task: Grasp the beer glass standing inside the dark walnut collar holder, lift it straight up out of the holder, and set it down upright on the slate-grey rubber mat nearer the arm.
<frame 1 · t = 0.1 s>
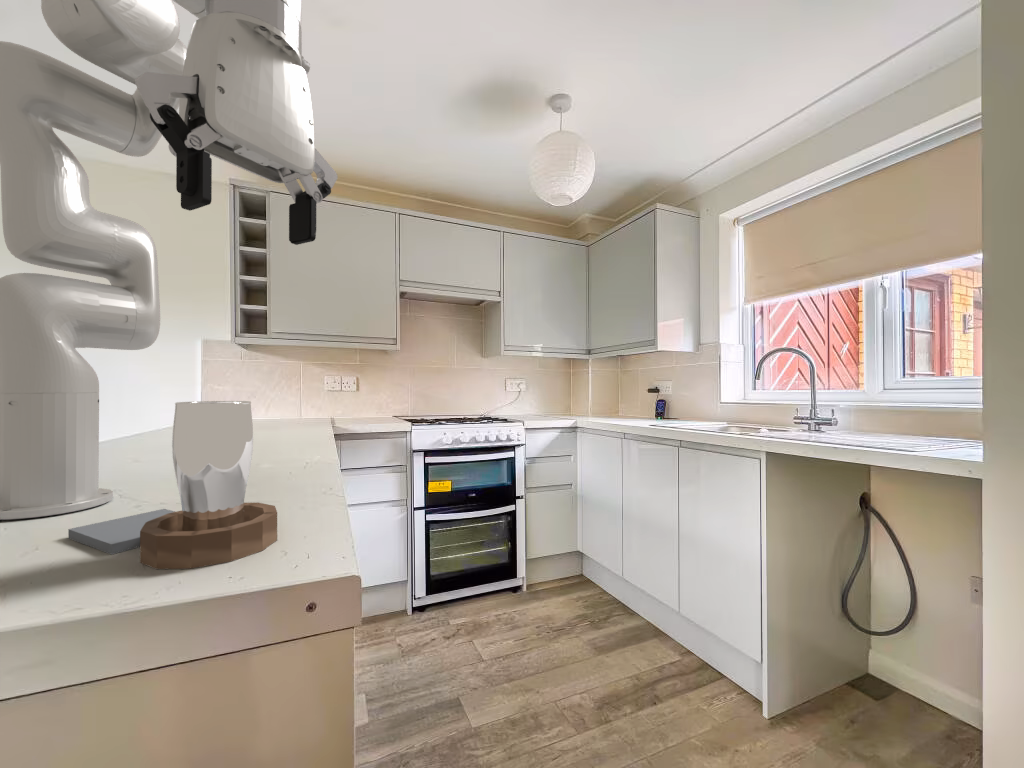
hand: (254, 226, 40), 31 cm above the counter, tool pointing down, fingers open, 9 cm apart
collar holder: (213, 546, 46), on the counter
slate mat: (141, 533, 50), on the counter
beer glass: (213, 548, 46), resting in collar holder
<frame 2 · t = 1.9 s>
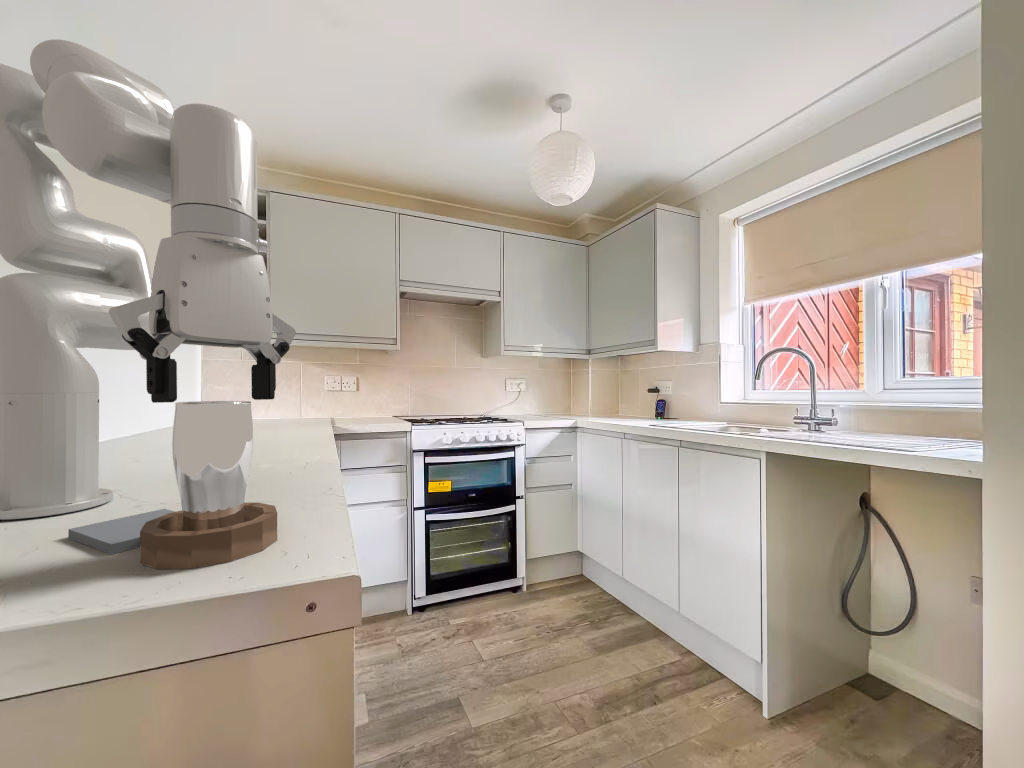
hand: (218, 400, 46), 15 cm above the counter, tool pointing down, fingers open, 9 cm apart
nothing on the counter moved.
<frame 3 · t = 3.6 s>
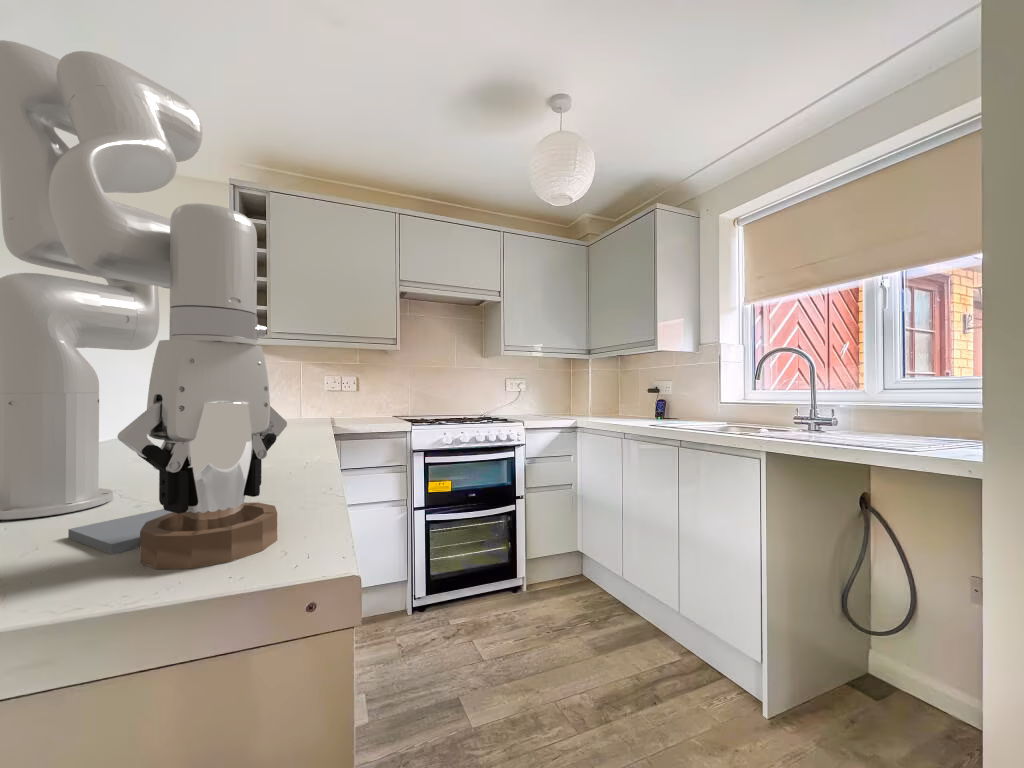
hand: (214, 501, 46), 5 cm above the counter, tool pointing down, fingers closed on beer glass, 6 cm apart
beer glass: (213, 548, 46), resting in collar holder, touching gripper
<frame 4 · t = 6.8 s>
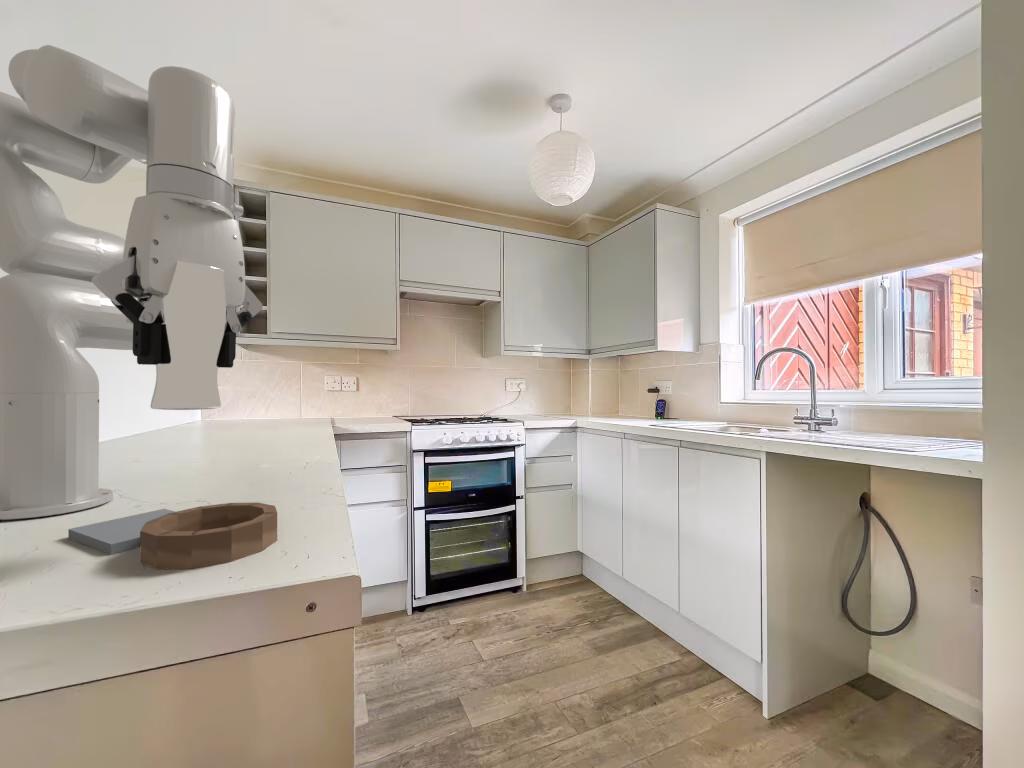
hand: (187, 364, 47), 19 cm above the counter, tool pointing down, fingers closed on beer glass, 6 cm apart
beer glass: (186, 409, 47), point 14 cm above the counter, touching gripper
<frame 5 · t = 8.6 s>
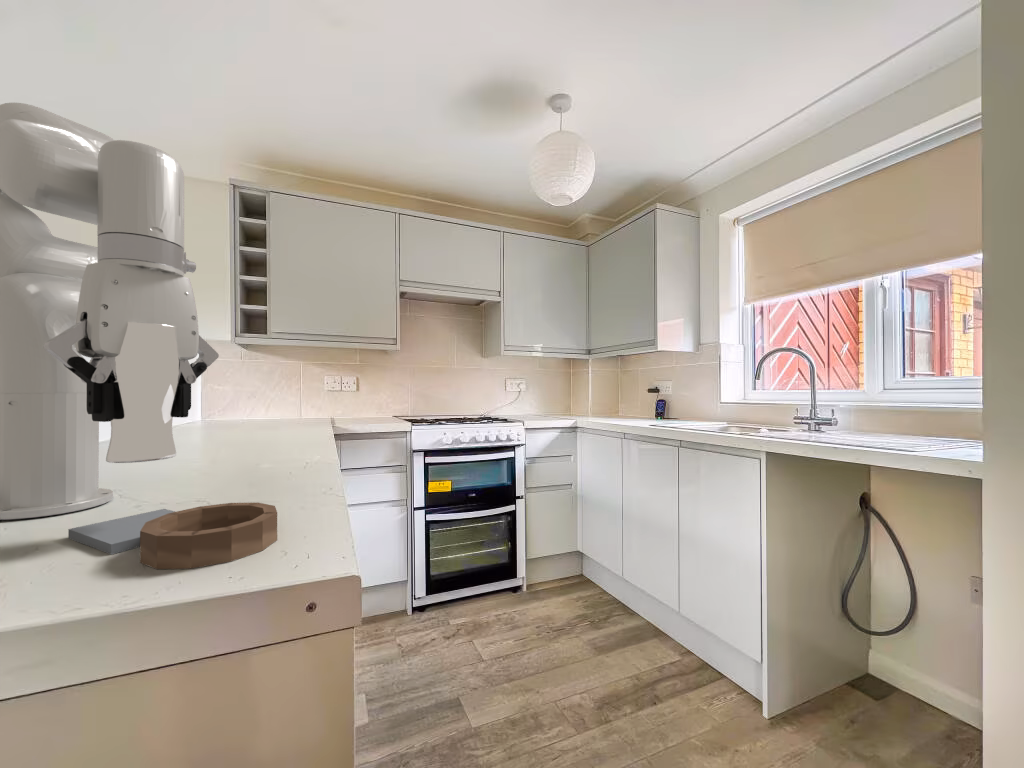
hand: (142, 417, 50), 13 cm above the counter, tool pointing down, fingers closed on beer glass, 6 cm apart
beer glass: (142, 460, 50), point 8 cm above the counter, touching gripper
when the fingers open (7 cm above the counter, at t = 10.3 s): beer glass stays where it is, resting on slate mat.
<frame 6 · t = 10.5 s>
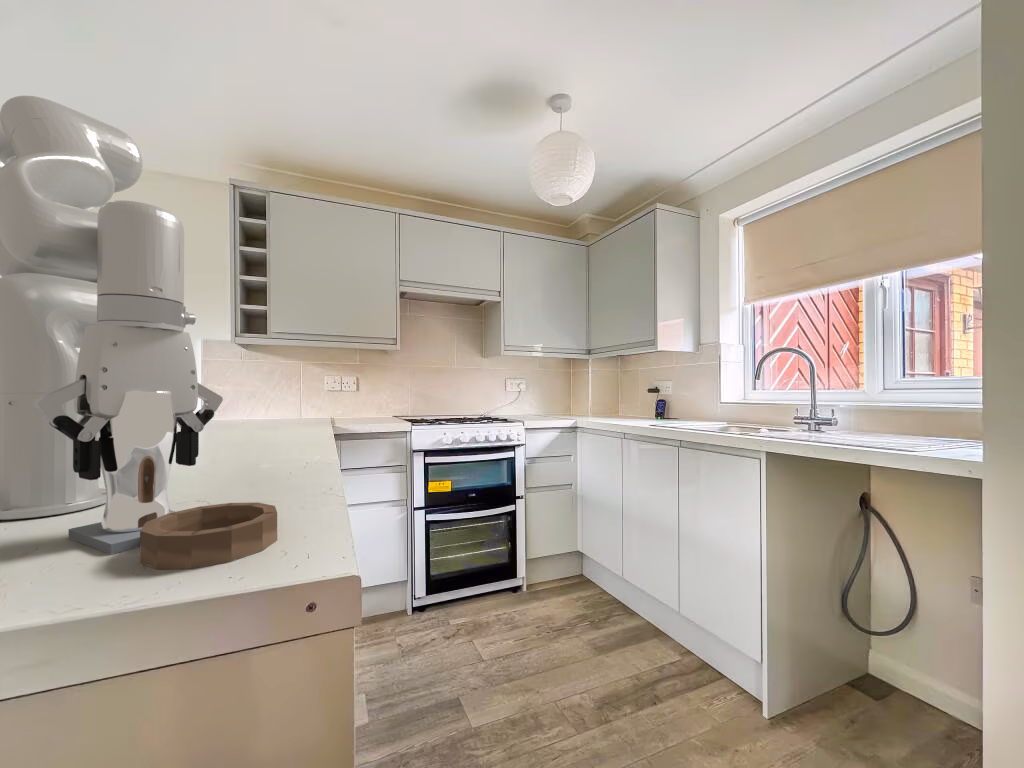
hand: (141, 470, 50), 7 cm above the counter, tool pointing down, fingers open, 8 cm apart
beer glass: (137, 526, 50), point 1 cm above the counter, touching slate mat
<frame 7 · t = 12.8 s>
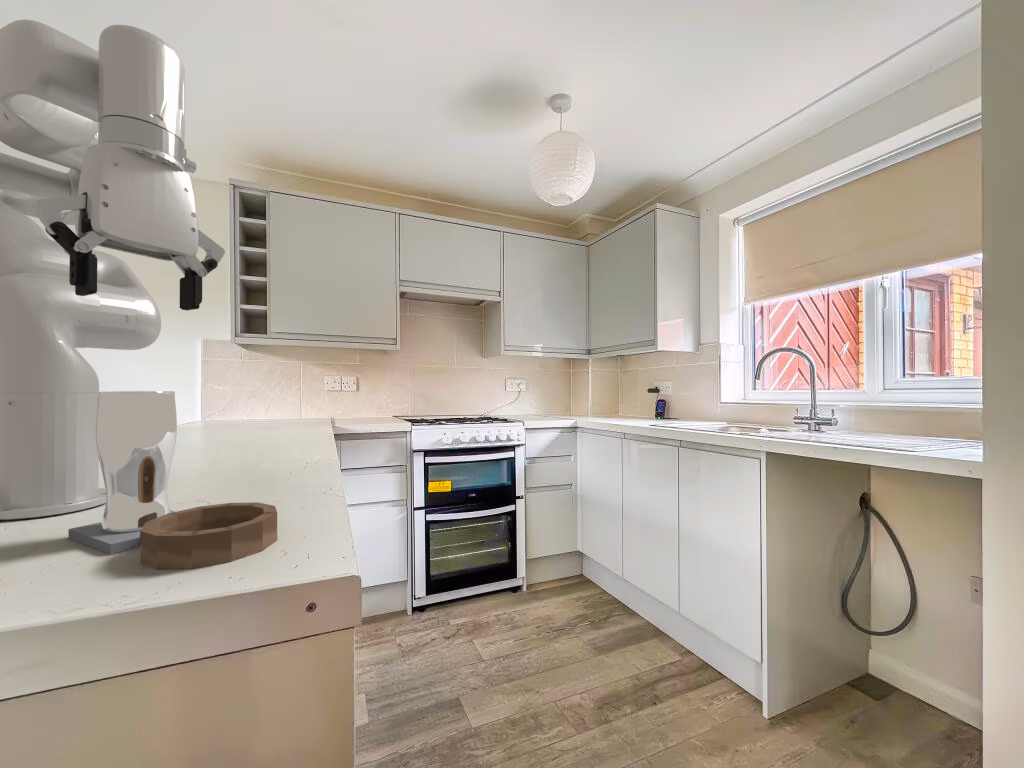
hand: (142, 302, 50), 26 cm above the counter, tool pointing down, fingers open, 9 cm apart
nothing on the counter moved.
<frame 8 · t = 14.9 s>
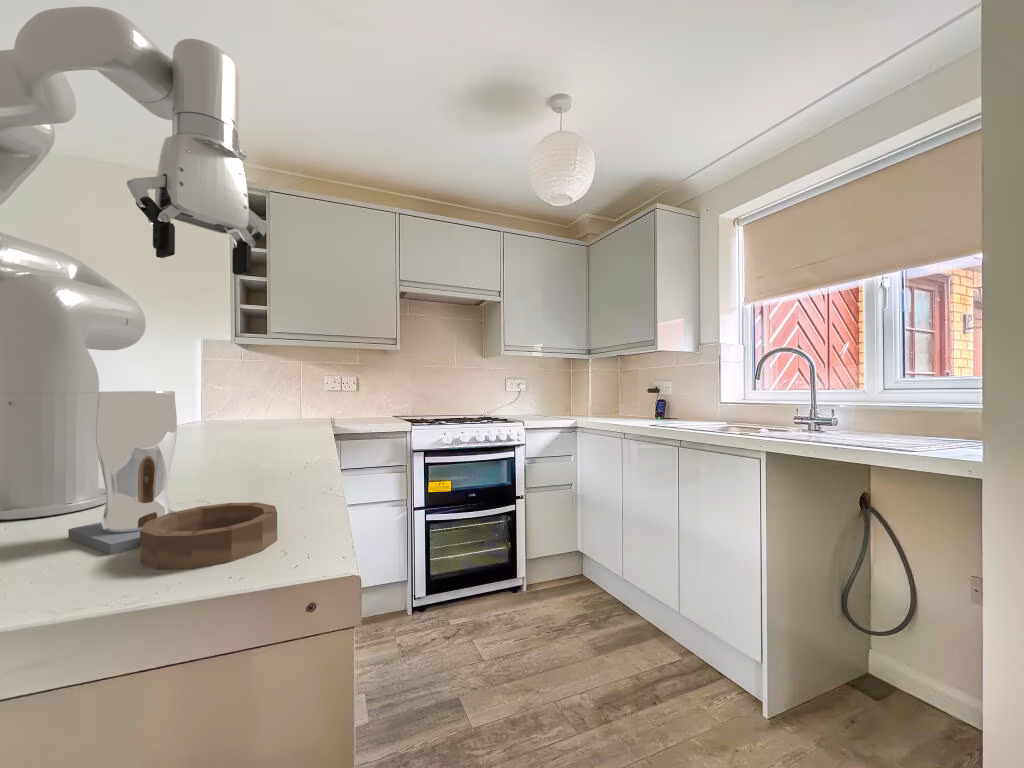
hand: (205, 265, 61), 33 cm above the counter, tool pointing down, fingers open, 9 cm apart
nothing on the counter moved.
at the end: beer glass 0.4 cm off-centre on the slate mat, point 0.8 cm above the slate mat's base; beer glass tilted 0°; the gripper is holding nothing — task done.
